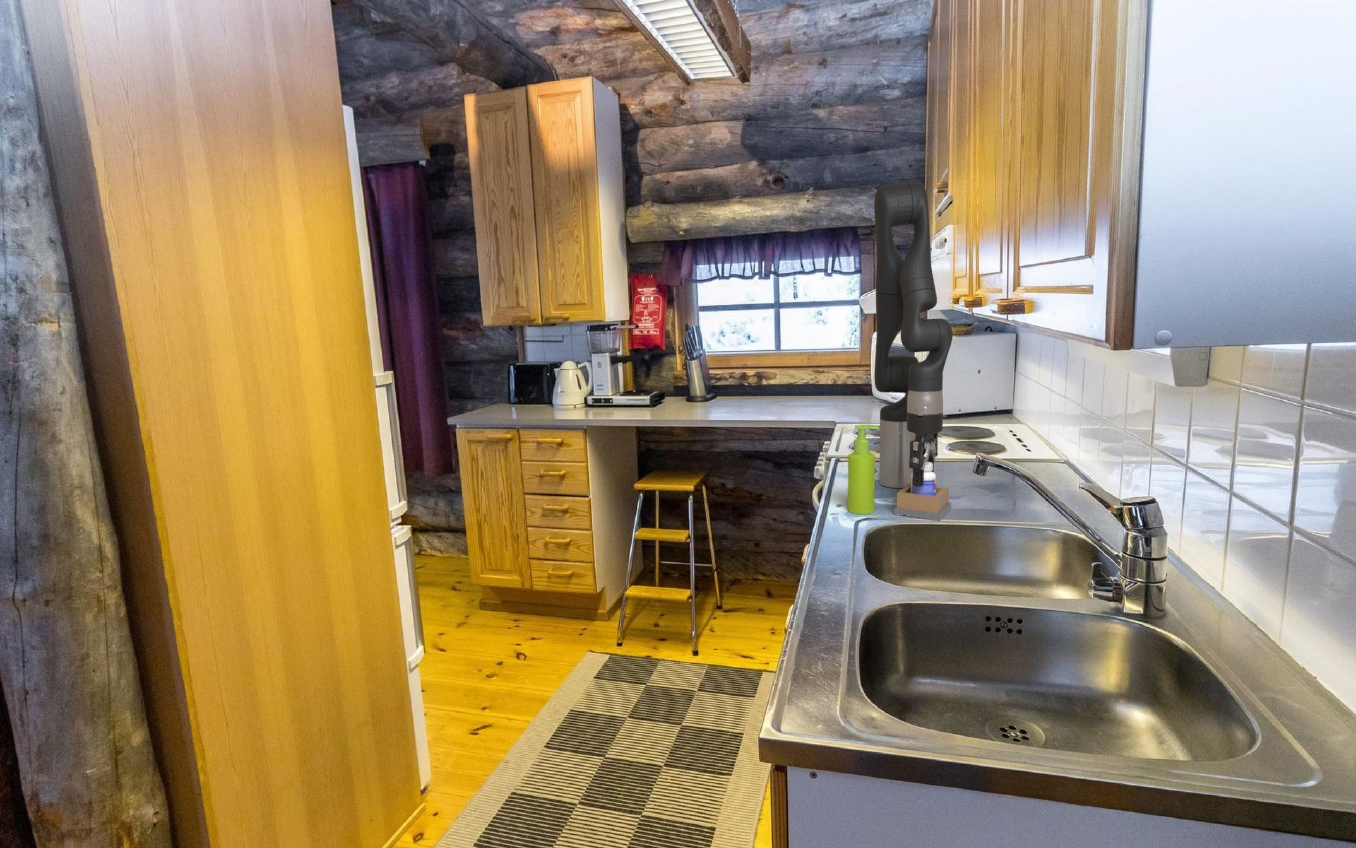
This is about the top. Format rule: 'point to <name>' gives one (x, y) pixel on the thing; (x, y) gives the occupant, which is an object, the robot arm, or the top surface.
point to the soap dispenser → (861, 474)
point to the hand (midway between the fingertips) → (923, 481)
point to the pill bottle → (926, 481)
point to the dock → (923, 503)
